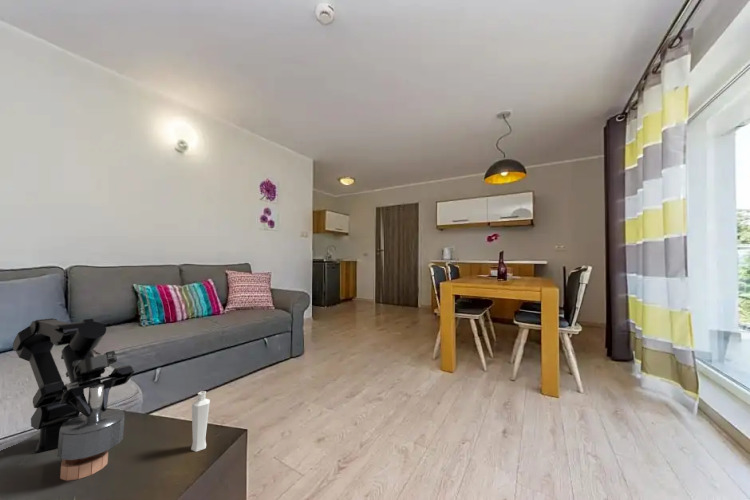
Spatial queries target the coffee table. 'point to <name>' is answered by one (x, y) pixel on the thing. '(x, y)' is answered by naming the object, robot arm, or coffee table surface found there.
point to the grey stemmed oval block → (91, 430)
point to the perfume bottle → (200, 421)
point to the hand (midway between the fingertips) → (97, 413)
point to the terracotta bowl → (83, 466)
